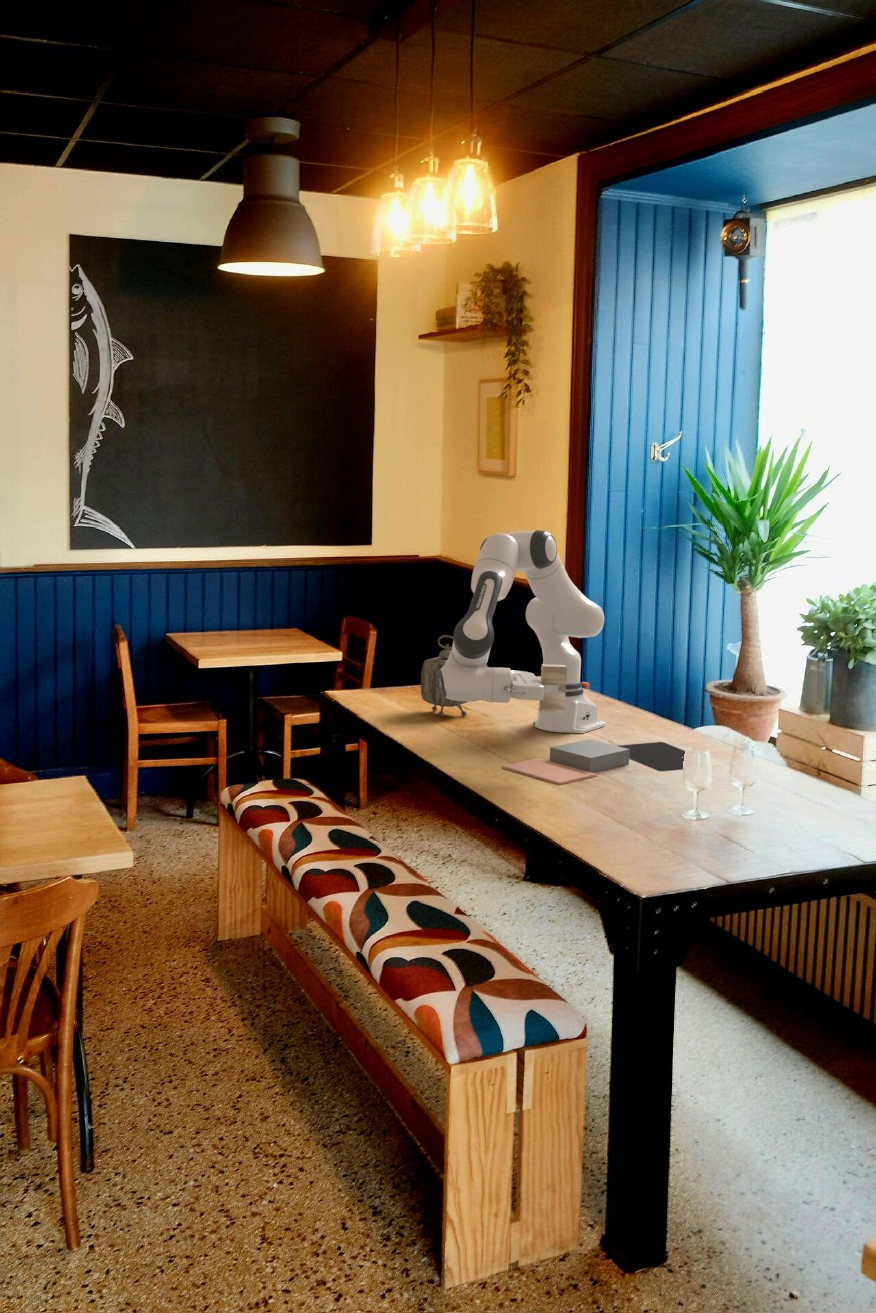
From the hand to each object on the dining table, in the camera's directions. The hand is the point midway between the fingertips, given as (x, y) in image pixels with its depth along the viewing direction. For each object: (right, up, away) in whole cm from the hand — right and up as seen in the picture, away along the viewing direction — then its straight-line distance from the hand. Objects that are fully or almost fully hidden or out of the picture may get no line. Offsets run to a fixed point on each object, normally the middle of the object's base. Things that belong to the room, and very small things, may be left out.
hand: (556, 686), depth 312 cm
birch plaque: (-1, -6, +1) cm, 7 cm away
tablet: (+31, -20, +24) cm, 44 cm away
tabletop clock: (-28, -11, +67) cm, 73 cm away
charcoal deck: (+10, -21, +14) cm, 27 cm away
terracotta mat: (-2, -22, +4) cm, 22 cm away
